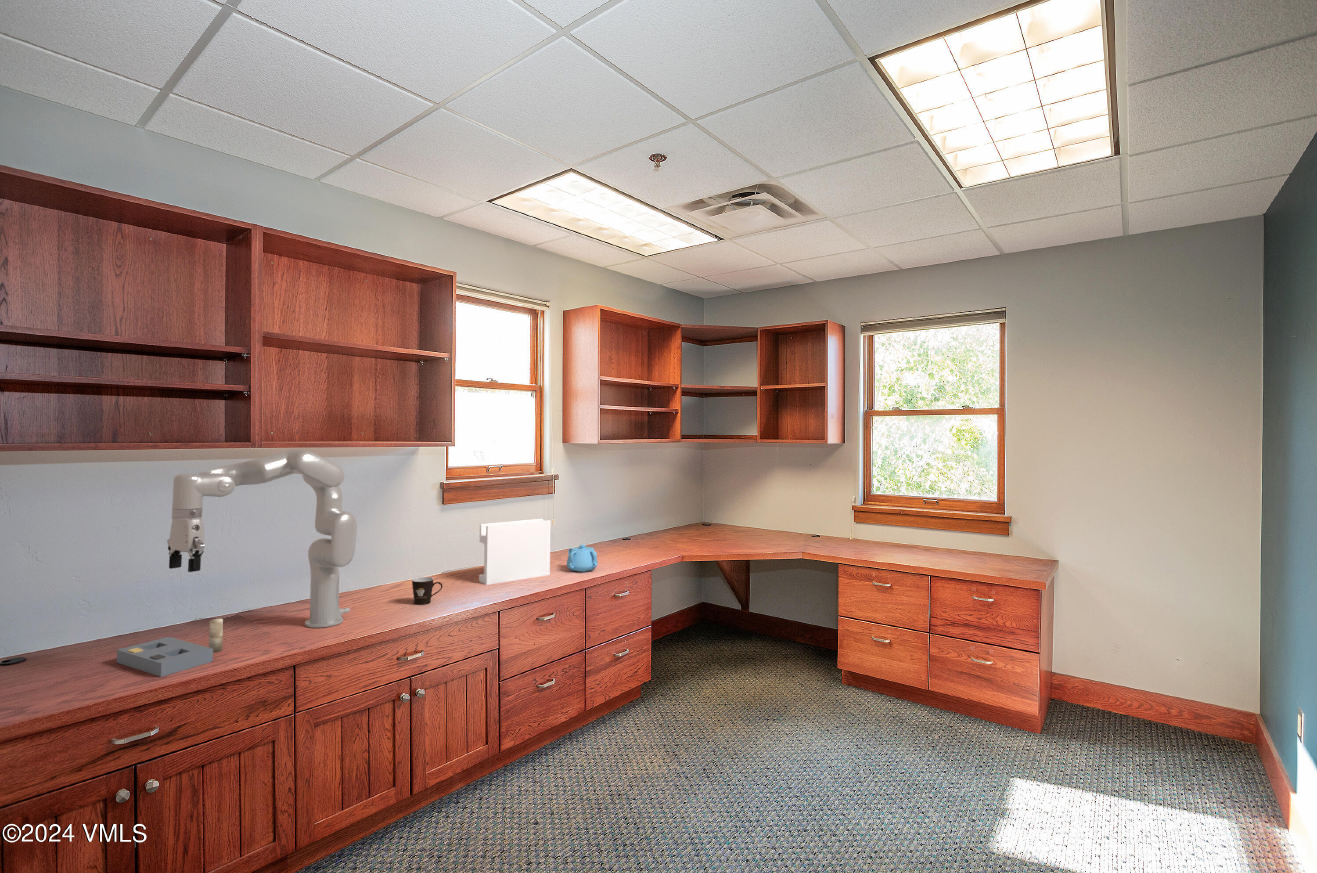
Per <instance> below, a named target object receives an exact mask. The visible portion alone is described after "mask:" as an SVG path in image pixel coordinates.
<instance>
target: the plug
mask: <svg viewBox="0 0 1317 873" xmlns="http://www.w3.org/2000/svg"><path fill="white" fill-rule="evenodd" d="M208 623H209V625H208V626H209V631H208V647H209V648H213V654H215V653H220V652H222V651H223V647H224V646H223V645H224V644H223V636H224V635H223V633H224V631H223V629H224V619H223V618H214V619H210V620H209V622H208Z"/></svg>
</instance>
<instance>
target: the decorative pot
mask: <svg viewBox="0 0 1317 873" xmlns="http://www.w3.org/2000/svg"><path fill="white" fill-rule="evenodd" d="M567 552H568V554H567V555H568V556H567V560H566V567H567V568H568V569H569V570H571V572H580V573H586V572H588V571H590V572H591V571H594V569H596V568H597V567H598V562H599V561H598V553H597V552H596V550H595V548H594V547H590V546H588V547H587V545H586V544H579V546H578V547H577V546H576V547H571V548H569V549H568V551H567Z"/></svg>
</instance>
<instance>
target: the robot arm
mask: <svg viewBox="0 0 1317 873" xmlns="http://www.w3.org/2000/svg"><path fill="white" fill-rule="evenodd" d="M294 474H296V475H297V474H298V475H302V479H303V480H304V482H305V483H306V484H307V485H308V486H310V487H311V488H312V490H313V491H314V492H315V496H316V505H315V506H316V509H315V519H314V528H315V531H316V533H319V534H320V535H324V536H331V538H327V537H326V538H319V539H316V540H314V541H313V542H312V543H311V544H310V545H309V548H308V551H307V552H308V553H307V556H308V558H307V559H308V562H309V569H310V584H309V585H310V586H309V587H310V592H309V593H310V594H309V595H310V597H309V599H310V600H309V605H310V606H309V618H308V619H307V620H305V622H304V626H305V627H308V628H312V629H313V628H315V629H317V628H318V629H319V628H327V627H328V628H329V627H334V626H336V625H340V624H341V623H343V622H344V617H343V616H342V615H344V614H347V613H350V611H351V608H350V607H347V606H346V607H344V608H342V607H340V606H339V605H340V569H339V568H343V567H346V566H348V565H349V564H351V562H352V560H353V558H354V556H355V550H356V541H357V540H356V539H357V520H356V518H355V516H354V515H353V514H352V513H351V512H348V511H346V510H345V511H344V510H343V508H342V507H343V493H342V490H341V487H340V485H341V484H342V483H343V482H344V478H345V472H344V470H343V469H342V467H340V466H339V465H338V464H336V463H334V462H333V461H331V460H329V459H326V458H325V457H323V456H321V455H320V454H317V453H316V452H314V451H310V450H306V449H288V450H284V451H280V452H278V453H274V454H270V455H267V456H264V457H258V458H255V459H251V460H246V461H242V462H238V463H233V464H229V465H227V464H226V465H223V466H217V467H215V468H212V469H208V470H204V471H201V472H199V473H198V474H197V473H196V474H195V473H181V474H179V473H178V474H177V475H175V476H174V478H173V481H172V482H173V484H172V485H173V486H172V506H171V508H172V509H171V524H170V525H171V526H170V533H169V538H168V539H167V540H166V541H167V542H166V543H167V546H168V547H167V549H168V556H169V560H168V561H169V562H168V569H170V570H171V569H177V568H178V569H179V568H182V561H183V557H182V556H183V554H181V553H182V552H183V553H187V554H188V556H189V558H188V562H187V563H188V565H187V572H188V573H193V572H199V571H201V566H202V565H201V564H202V558H203V554H204V550H205V548H206V545H205V528H204V521H203V505H204V504H203V503H204V502H203V501H204V497H214V498H215V497H216V498H221V497H222V498H223V497H225V496H228V495H230V494H232V492H233V491H234V489H235V487H237V486H245V485H246V486H247V485H248V486H249V485H250V486H251V485H260V484H261V485H262V484H265V483H269V482H272V481H274V480H275V481H276V480H278V479H281V478H284V477H288V476H290V475H294Z"/></svg>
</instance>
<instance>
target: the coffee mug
mask: <svg viewBox="0 0 1317 873" xmlns="http://www.w3.org/2000/svg"><path fill="white" fill-rule="evenodd" d="M411 582H412V583H411V586H412V594H413V604H414V605H416V606H425V605H429V604H430V603H431V600H432V597H434V596H435V595H437V594H438V593H439V592H441V590H442V589H443V583H441V582H440V581H435V582H434V577H432V576H431V577H430V576H421V577H414V578H412V579H411ZM436 584H439V585H440V588H439V589H438V591H436V592H434V593H433V588H434V587H435V585H436ZM432 593H433V594H432Z"/></svg>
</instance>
